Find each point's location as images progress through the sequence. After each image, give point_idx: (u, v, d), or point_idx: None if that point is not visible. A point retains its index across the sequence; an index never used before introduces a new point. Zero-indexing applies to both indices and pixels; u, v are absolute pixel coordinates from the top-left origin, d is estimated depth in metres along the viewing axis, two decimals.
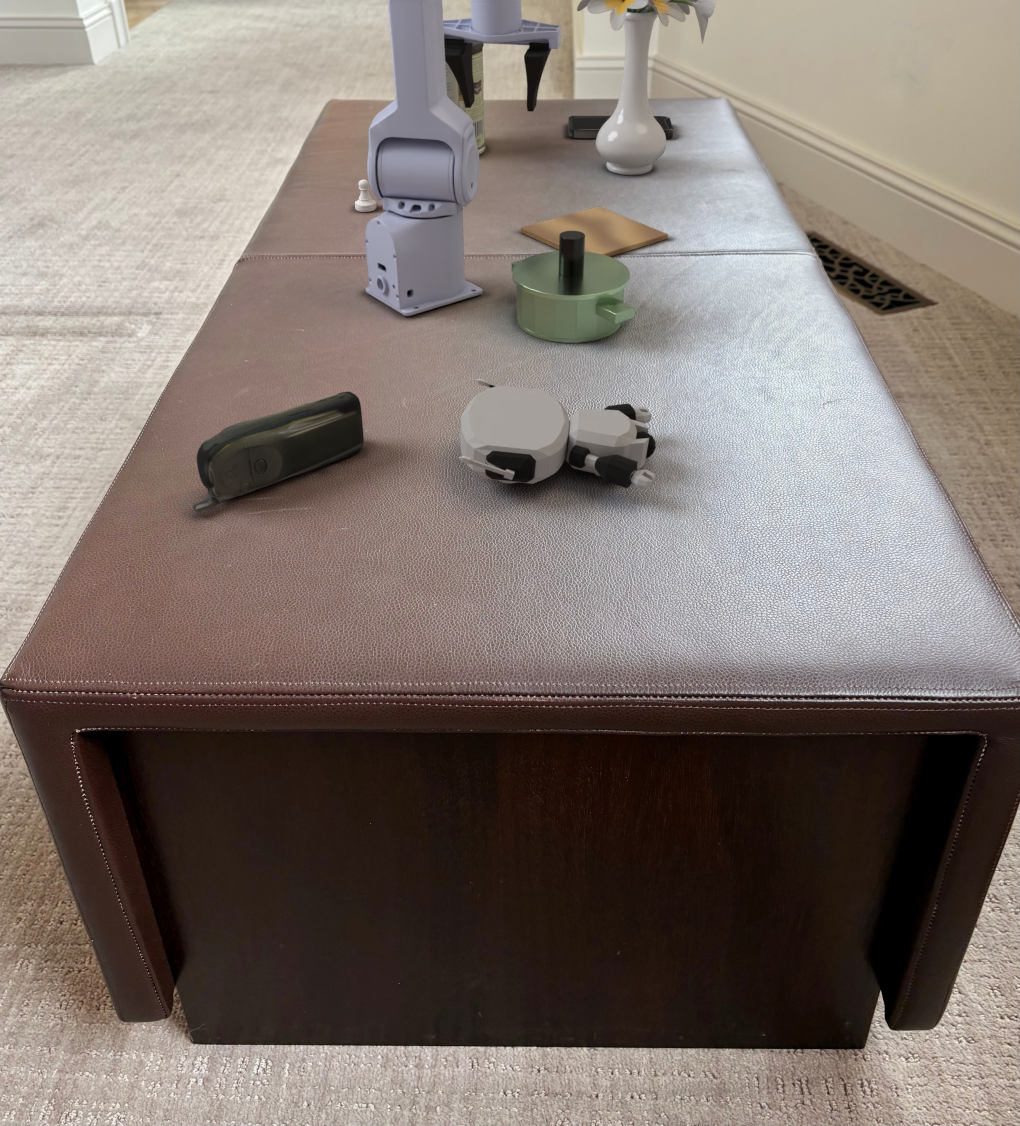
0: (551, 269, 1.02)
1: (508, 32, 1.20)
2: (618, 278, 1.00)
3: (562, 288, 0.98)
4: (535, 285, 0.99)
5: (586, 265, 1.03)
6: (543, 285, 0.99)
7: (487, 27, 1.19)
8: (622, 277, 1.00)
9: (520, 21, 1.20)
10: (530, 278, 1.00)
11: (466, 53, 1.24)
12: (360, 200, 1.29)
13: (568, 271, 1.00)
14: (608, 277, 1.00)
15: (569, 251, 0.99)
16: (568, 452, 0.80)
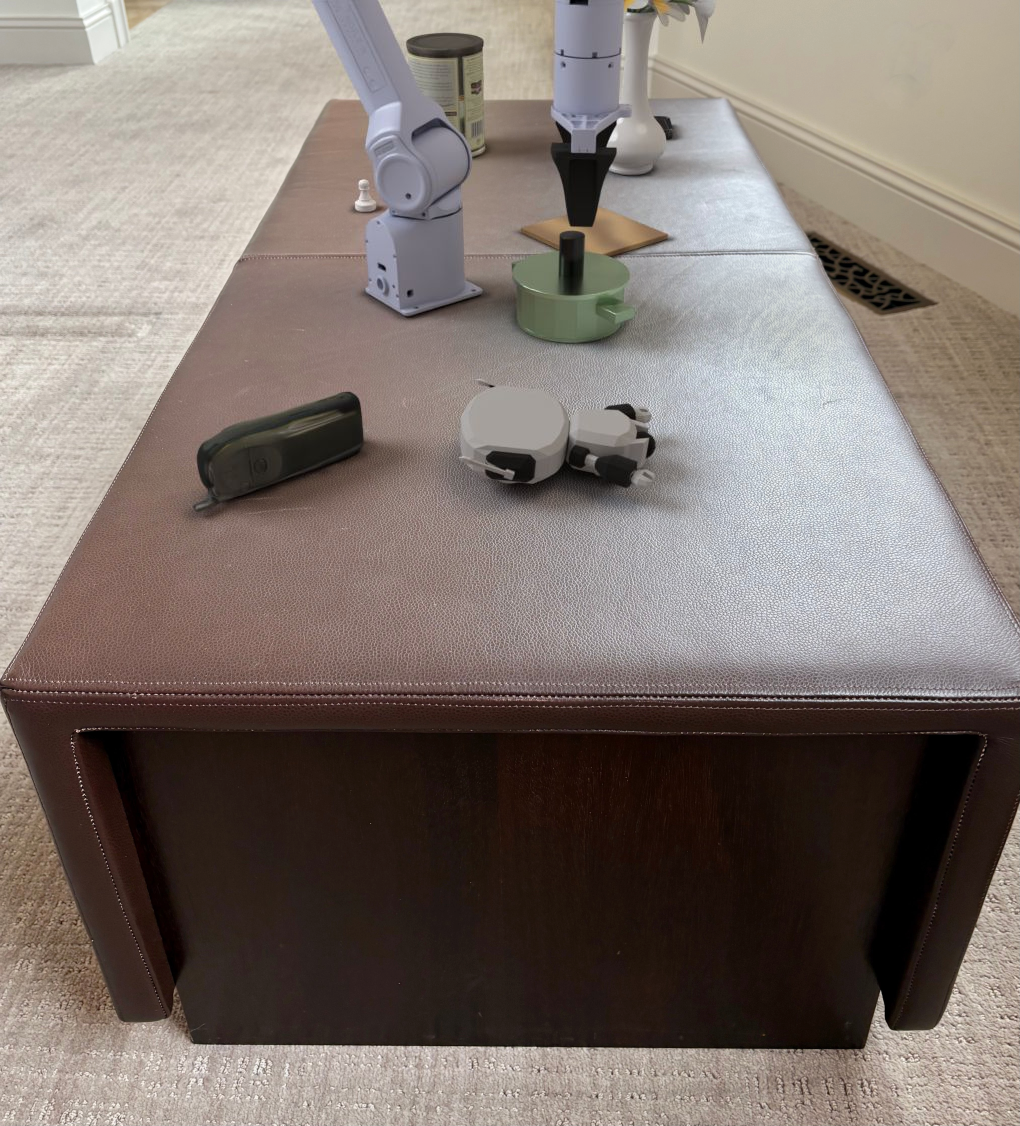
0: (551, 269, 1.02)
1: (560, 110, 0.92)
2: (618, 278, 1.00)
3: (562, 288, 0.98)
4: (535, 285, 0.99)
5: (586, 265, 1.03)
6: (543, 285, 0.99)
7: None
8: (622, 277, 1.00)
9: (583, 107, 0.91)
10: (530, 278, 1.00)
11: None
12: (360, 200, 1.29)
13: (568, 271, 1.00)
14: (608, 277, 1.00)
15: (569, 251, 0.99)
16: (568, 452, 0.80)
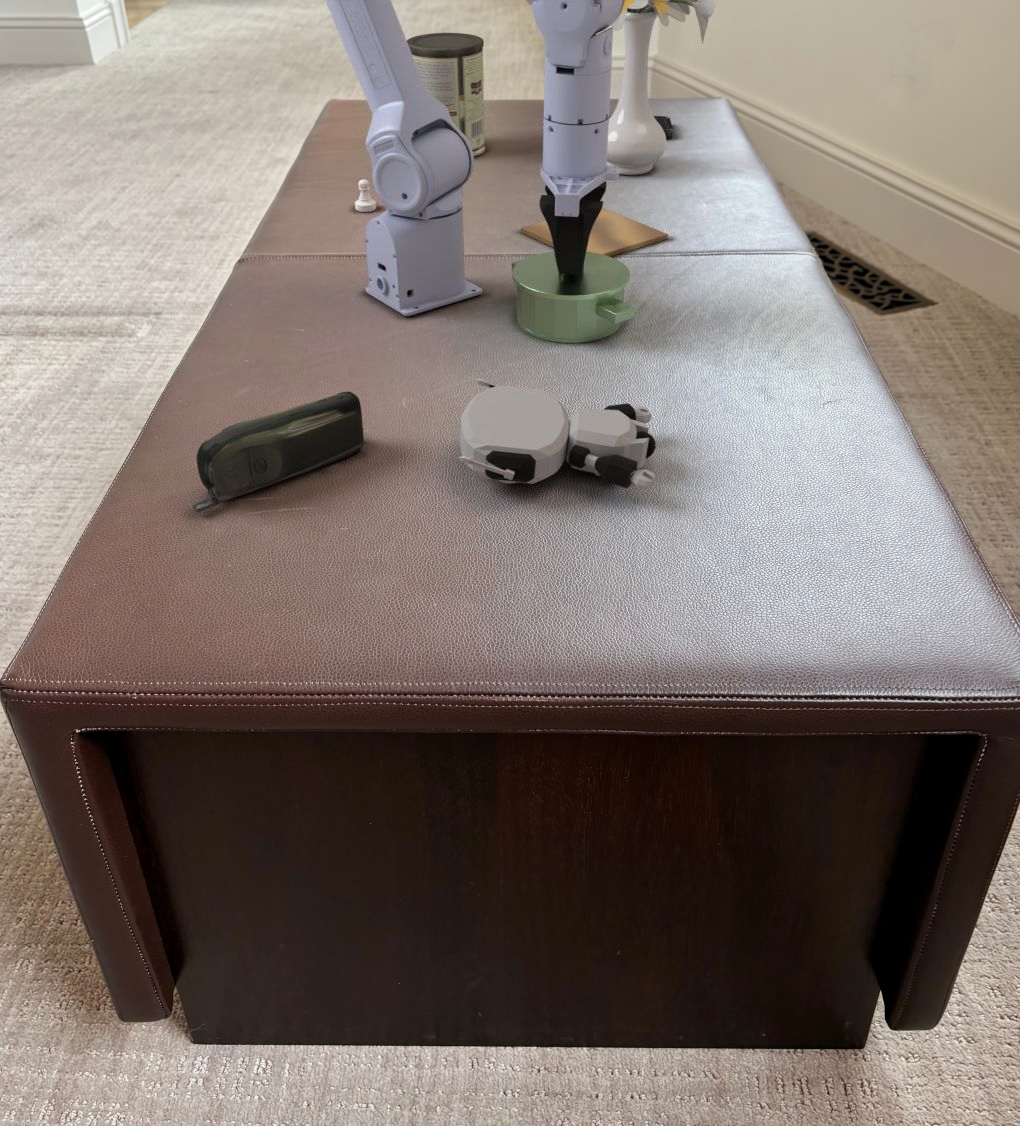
0: (551, 269, 1.02)
1: (548, 172, 0.94)
2: (618, 277, 1.00)
3: (562, 288, 0.98)
4: (535, 285, 0.99)
5: (586, 265, 1.03)
6: (543, 285, 0.99)
7: None
8: (622, 277, 1.00)
9: (569, 170, 0.93)
10: (530, 278, 1.00)
11: None
12: (360, 200, 1.29)
13: None
14: (608, 277, 1.00)
15: None
16: (568, 452, 0.80)
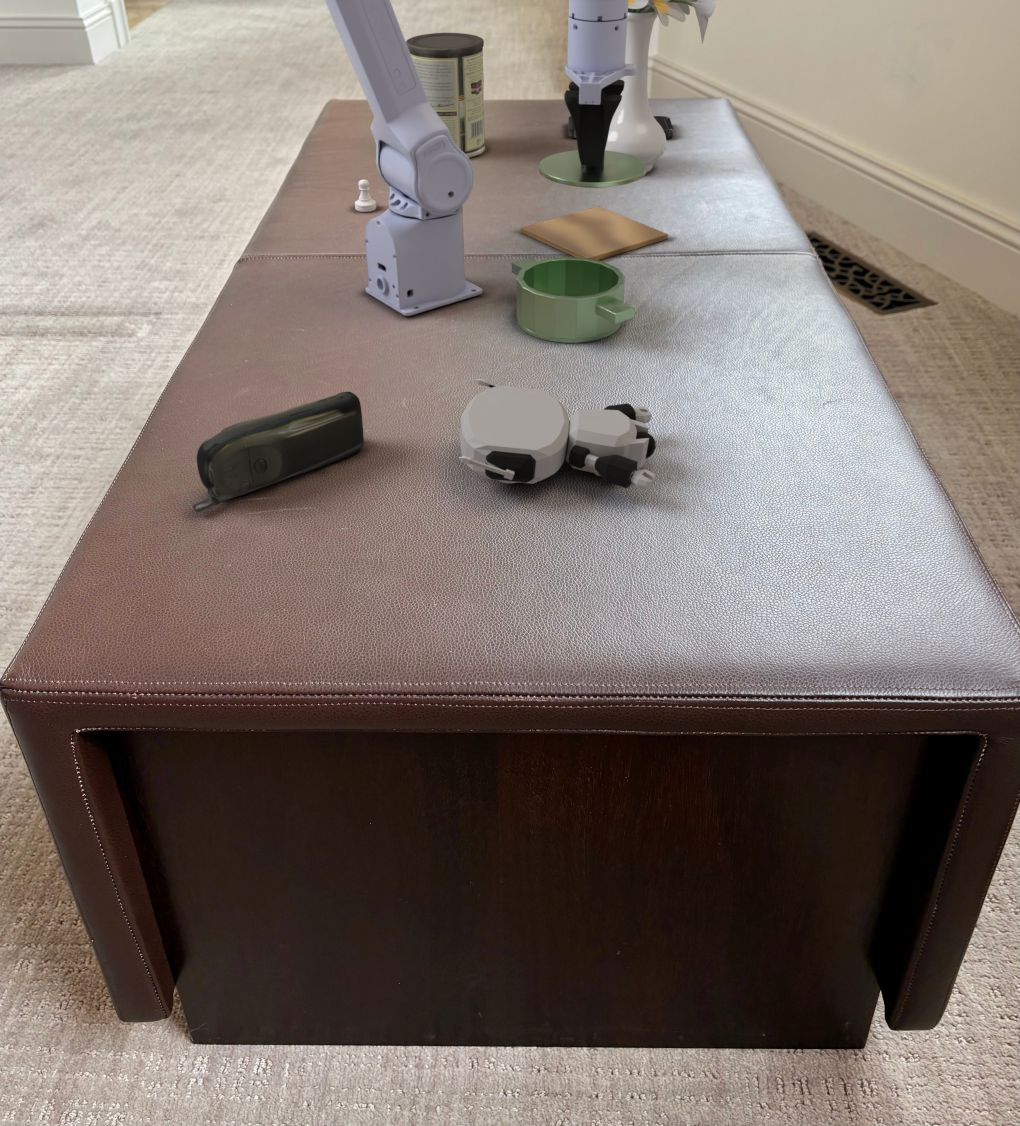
0: (574, 163, 1.12)
1: (572, 67, 1.04)
2: (636, 169, 1.10)
3: (585, 177, 1.08)
4: (560, 175, 1.09)
5: (606, 160, 1.13)
6: (567, 175, 1.09)
7: None
8: (639, 169, 1.10)
9: (591, 64, 1.03)
10: (555, 170, 1.10)
11: None
12: (360, 200, 1.29)
13: None
14: (626, 169, 1.10)
15: None
16: (568, 452, 0.80)
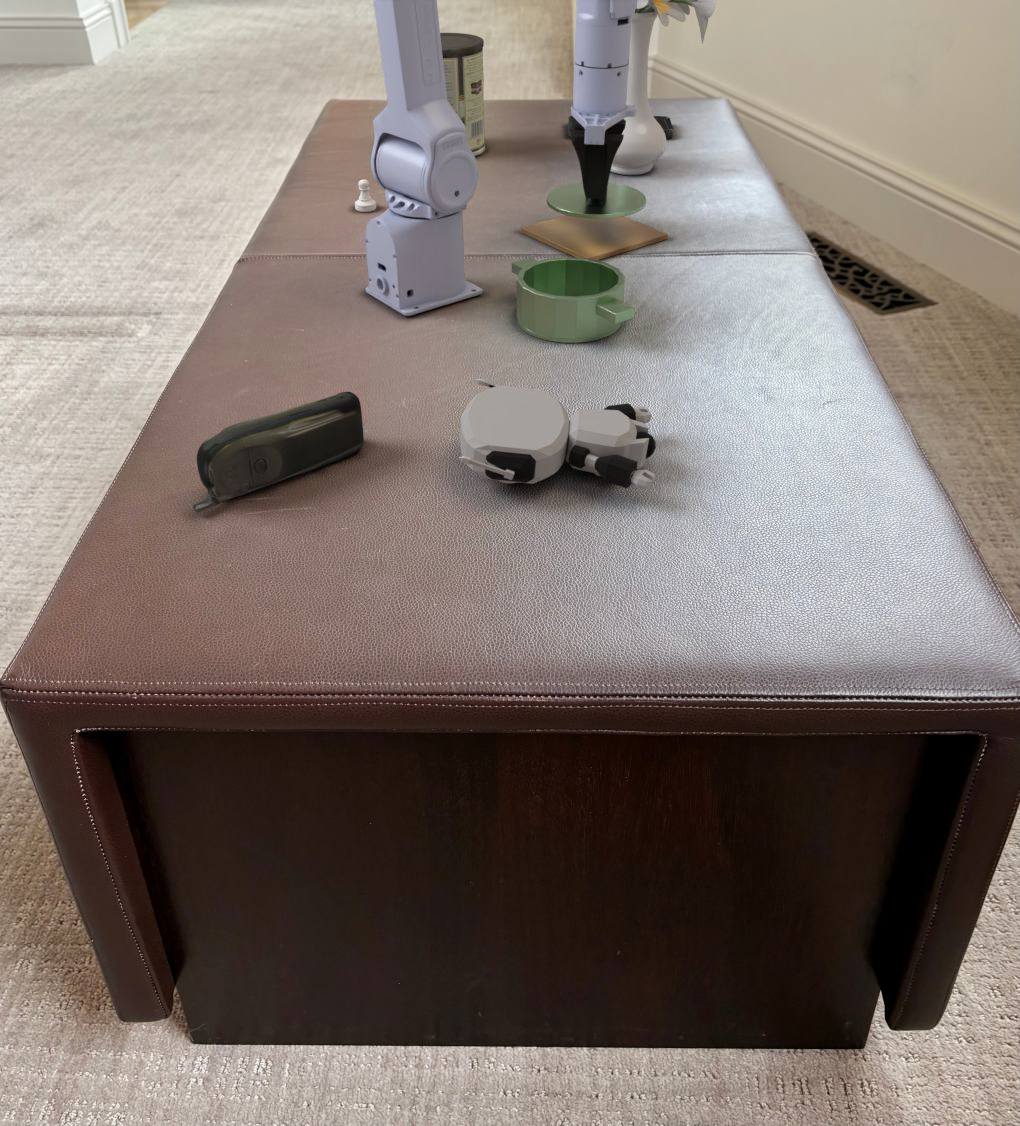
0: (579, 195, 1.21)
1: (578, 109, 1.13)
2: (636, 201, 1.19)
3: (589, 209, 1.17)
4: (566, 207, 1.18)
5: (609, 192, 1.21)
6: (573, 207, 1.18)
7: None
8: (639, 201, 1.19)
9: (596, 107, 1.12)
10: (562, 202, 1.19)
11: None
12: (360, 200, 1.29)
13: None
14: (628, 201, 1.19)
15: None
16: (568, 452, 0.80)
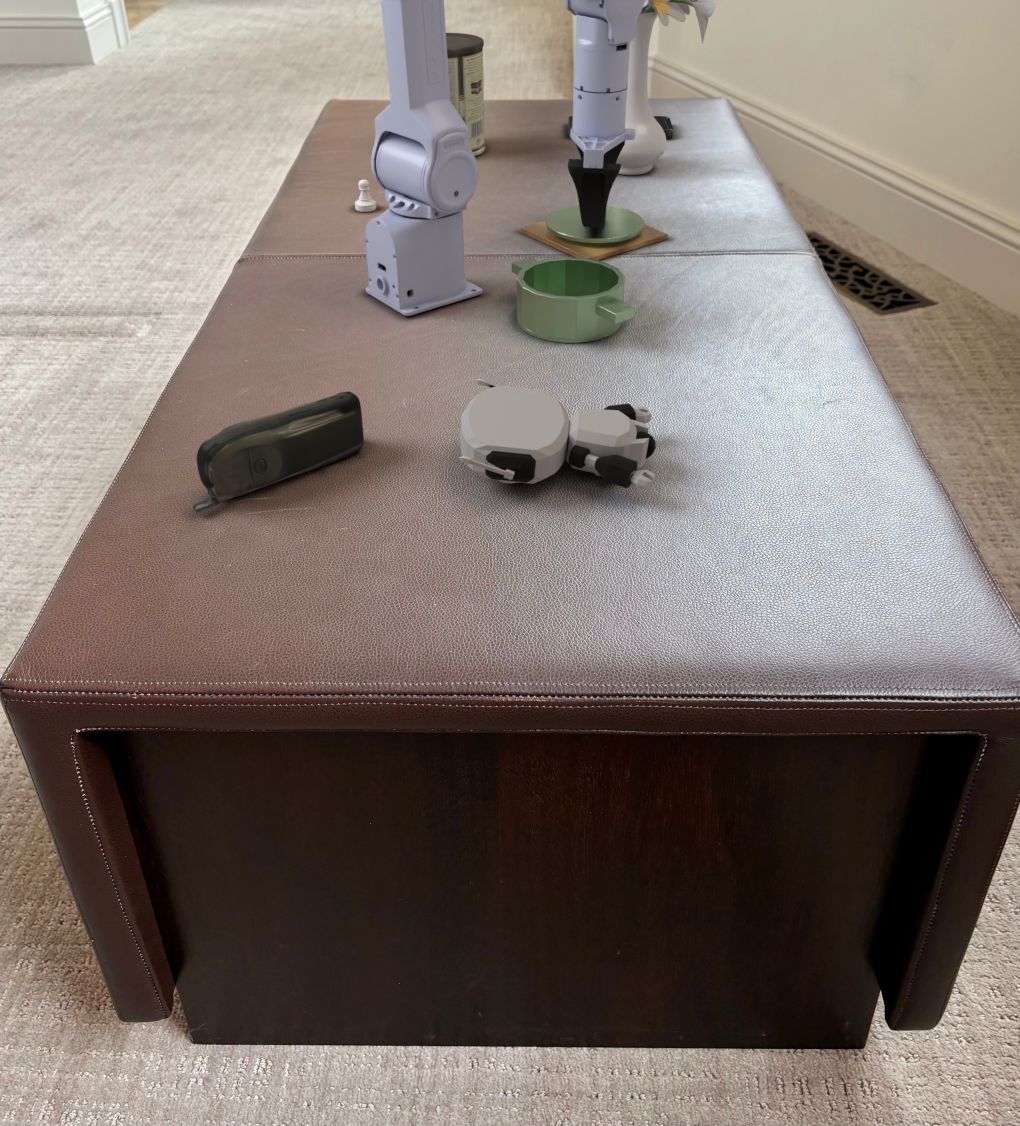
0: (578, 219, 1.22)
1: (577, 132, 1.14)
2: (635, 225, 1.21)
3: (588, 233, 1.19)
4: (566, 231, 1.19)
5: (607, 216, 1.23)
6: (572, 231, 1.19)
7: None
8: (638, 225, 1.21)
9: (595, 131, 1.13)
10: (561, 225, 1.21)
11: None
12: (360, 200, 1.29)
13: None
14: (626, 225, 1.21)
15: None
16: (568, 452, 0.80)
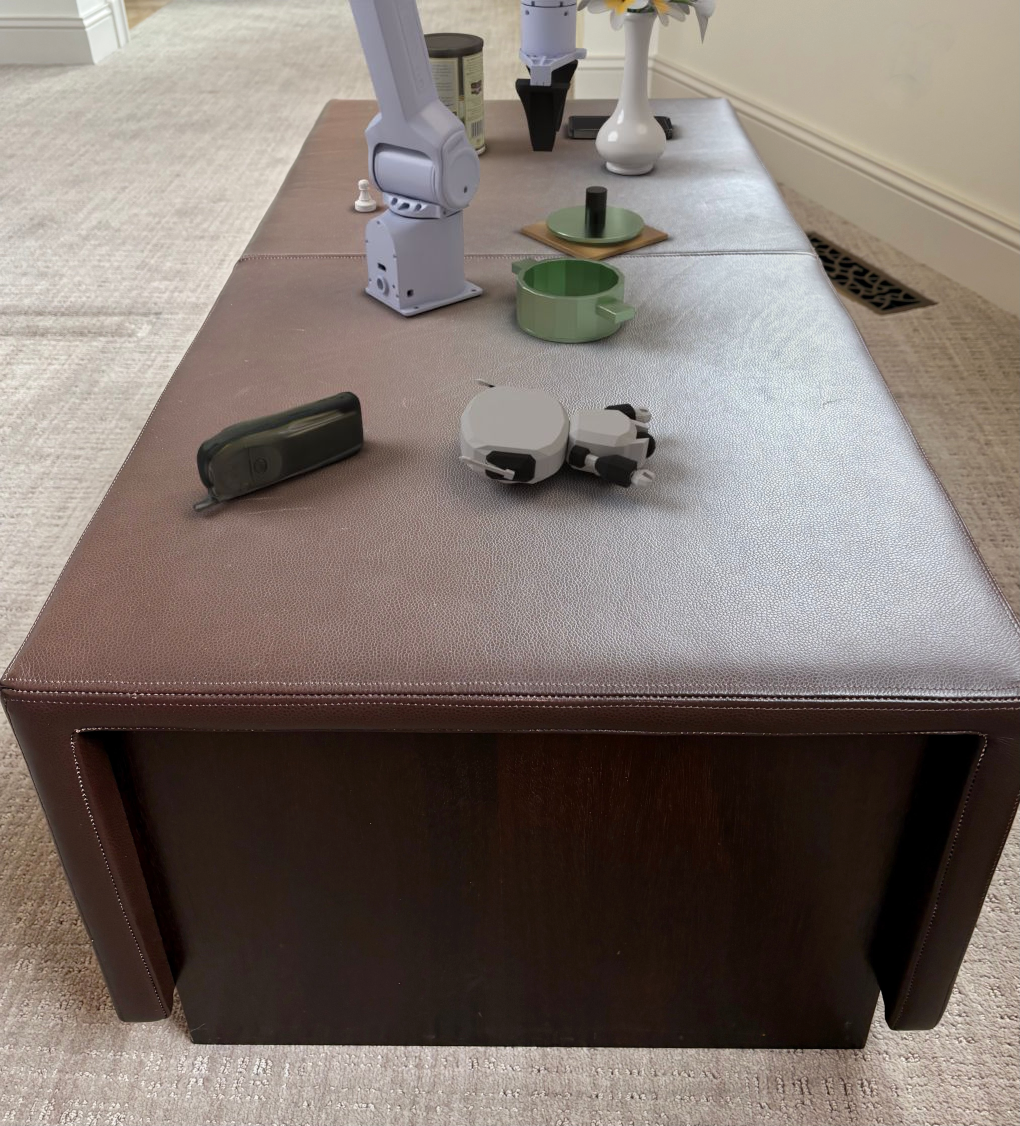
0: (578, 219, 1.22)
1: (525, 51, 1.10)
2: (635, 225, 1.21)
3: (588, 233, 1.19)
4: (566, 231, 1.19)
5: (607, 216, 1.23)
6: (572, 231, 1.19)
7: None
8: (638, 225, 1.21)
9: (543, 48, 1.09)
10: (561, 225, 1.21)
11: None
12: (360, 200, 1.29)
13: (593, 220, 1.21)
14: (626, 225, 1.21)
15: (594, 202, 1.19)
16: (568, 452, 0.80)
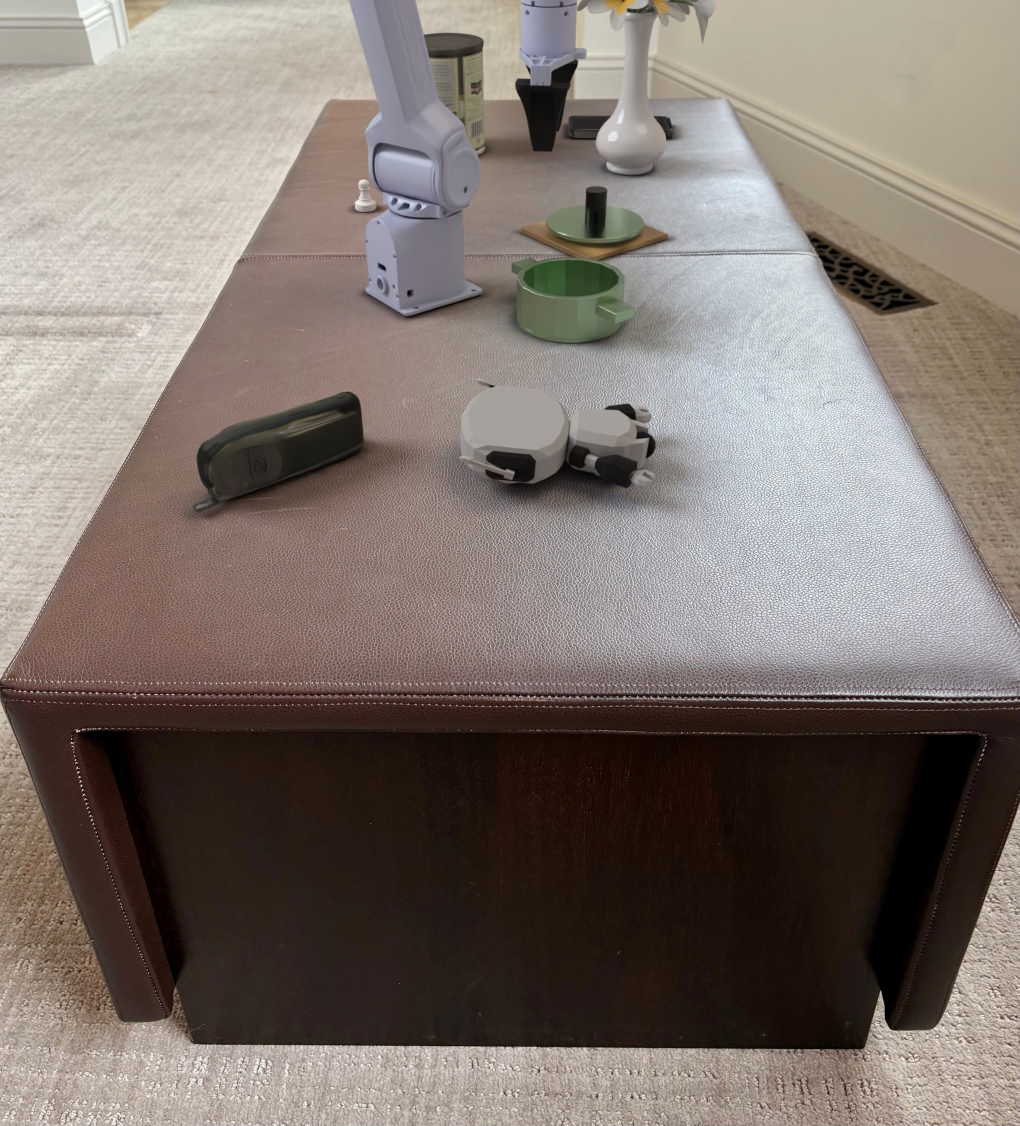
0: (578, 219, 1.22)
1: (525, 51, 1.10)
2: (635, 225, 1.21)
3: (588, 233, 1.19)
4: (566, 231, 1.19)
5: (607, 216, 1.23)
6: (572, 231, 1.19)
7: None
8: (638, 225, 1.21)
9: (543, 48, 1.09)
10: (561, 225, 1.21)
11: None
12: (360, 200, 1.29)
13: (593, 220, 1.21)
14: (626, 225, 1.21)
15: (594, 202, 1.19)
16: (568, 452, 0.80)
